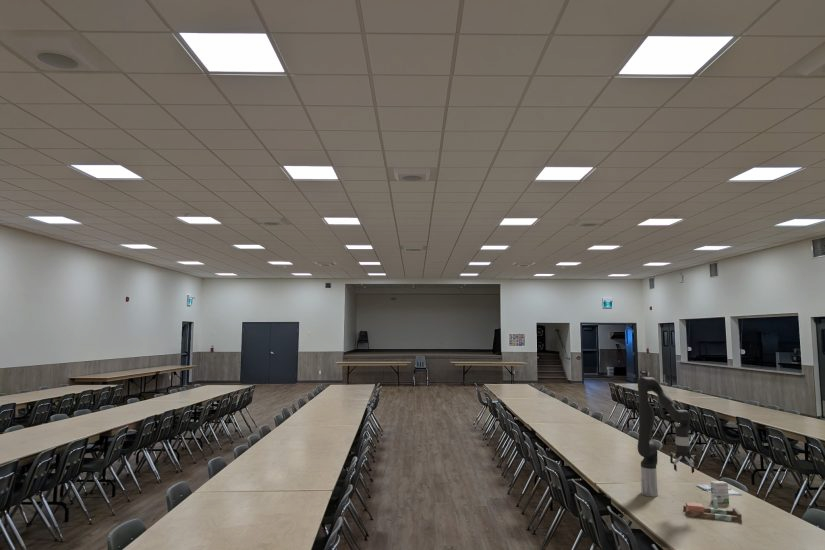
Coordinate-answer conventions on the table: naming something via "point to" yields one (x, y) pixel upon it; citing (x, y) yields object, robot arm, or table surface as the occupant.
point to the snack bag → (708, 488)
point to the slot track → (717, 514)
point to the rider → (694, 507)
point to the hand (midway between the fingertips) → (684, 472)
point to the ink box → (719, 491)
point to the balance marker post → (715, 503)
